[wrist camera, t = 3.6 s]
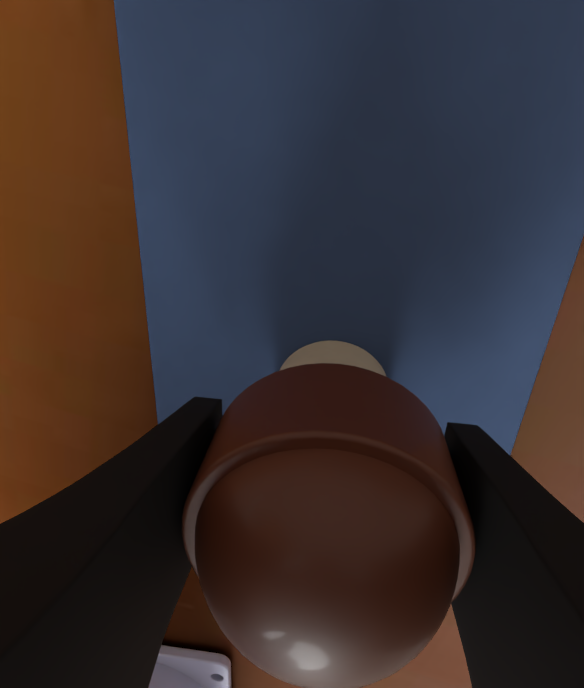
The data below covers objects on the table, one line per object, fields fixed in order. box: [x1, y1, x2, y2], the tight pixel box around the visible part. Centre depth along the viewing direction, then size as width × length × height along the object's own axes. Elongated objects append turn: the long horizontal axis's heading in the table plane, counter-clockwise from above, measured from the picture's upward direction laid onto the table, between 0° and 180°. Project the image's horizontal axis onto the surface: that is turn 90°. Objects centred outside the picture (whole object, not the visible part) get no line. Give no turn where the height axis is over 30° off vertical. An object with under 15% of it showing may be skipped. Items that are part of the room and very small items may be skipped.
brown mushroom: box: [182, 341, 476, 688], centre depth 9 cm, size 5×5×7 cm
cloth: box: [114, 0, 584, 455], centre depth 10 cm, size 20×10×1 cm, turn 177°
